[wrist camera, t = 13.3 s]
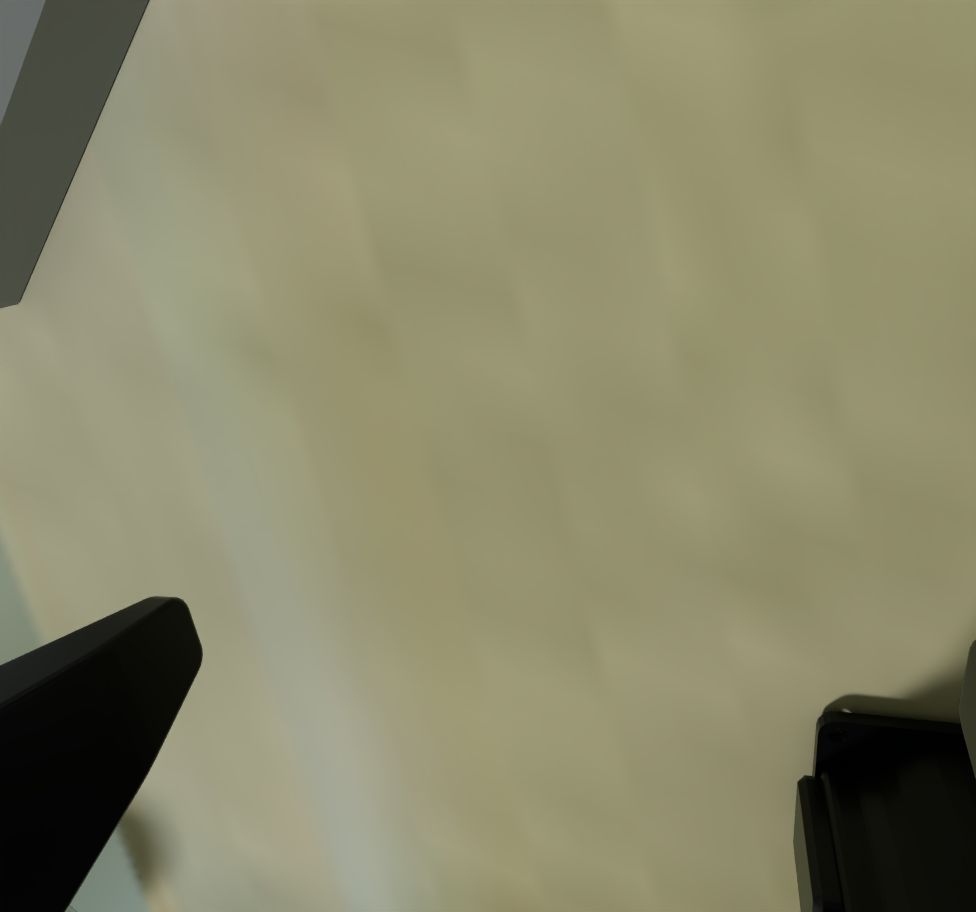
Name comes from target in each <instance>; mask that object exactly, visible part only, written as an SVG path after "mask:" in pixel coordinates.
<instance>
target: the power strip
mask: <svg viewBox="0 0 976 912" xmlns="http://www.w3.org/2000/svg"><path fill="white" fill-rule="evenodd" d="M147 3H148V0H0V308H3V307H8V306H12V305H16V304H18V303H19V301H20V299H21V296H22V294H23V292H24V289H25V287H26V285H27V282H28V280H29V278H30V275H31V273H32V271H33V268H34V266H35V264H36V261H37V259H38V257H39V254H40V252H41V250H42V247H43V245H44V243H45V240H46V238H47V236H48V233H49V231H50V229H51V226H52V224H53V222H54V219H55V217H56V215H57V212H58V210H59V208H60V205H61V203H62V201H63V198H64V196H65V194H66V191H67V189H68V187H69V184H70V182H71V180H72V177H73V175H74V173H75V170H76V168H77V166H78V163H79V161H80V159H81V156H82V154H83V152H84V149H85V147H86V145H87V142H88V140H89V138H90V135H91V133H92V131H93V128H94V126H95V124H96V122H97V119H98V117H99V115H100V112H101V110H102V108H103V105H104V103H105V101H106V98H107V96H108V94H109V91H110V89H111V87H112V84H113V82H114V80H115V77H116V75H117V73H118V70H119V68H120V66H121V63H122V61H123V59H124V56H125V54H126V52H127V49H128V47H129V45H130V42H131V40H132V38H133V35H134V33H135V31H136V28H137V26H138V24H139V21H140V19H141V17H142V14H143V12H144V10H145V7H146V5H147Z"/></svg>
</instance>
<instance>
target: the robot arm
mask: <svg viewBox="0 0 976 912" xmlns="http://www.w3.org/2000/svg"><path fill="white" fill-rule="evenodd" d="M202 656H203V652H202V646H201V643H200V640H199V637H198V634H197V631H196V628H195V625H194V622H193V619H192V616H191V614H190V611H189V608H188V606H187V604H186V603H185V602H184V601H183V600H182V599H180V598H177V597H160V596H154V597H149V598H146V599H144V600H142V601H140V602H138V603H135V604H133V605H131V606H129V607H127V608H125V609H122V610H120V611H118V612H116V613H114V614H111V615H109V616H107V617H105V618H103V619H101V620H98V621H96V622H94V623H92V624H90V625H87V626H85V627H83V628H81V629H79V630H77V631H74V632H72V633H70V634H68V635H66V636H63V637H61V638H59V639H57V640H55V641H53V642H50V643H48V644H46V645H44V646H42V647H39V648H37V649H35V650H33V651H31V652H29V653H26V654H24V655H22V656H20V657H18V658H15V659H14V660H11V661H9V662H7V663H5V664H2V665H0V912H65V911H66V910H67V908H68V906H69V905H70V903H71V901H72V900H73V898H74V896H75V895H76V893H77V892H78V890H79V888H80V887H81V885H82V883H83V882H84V880H85V878H86V877H87V875H88V873H89V872H90V870H91V868H92V867H93V865H94V863H95V862H96V860H97V858H98V857H99V855H100V853H101V852H102V850H103V848H104V847H105V845H106V843H107V842H108V840H109V838H110V837H111V835H112V834H113V832H114V830H115V829H116V827H117V825H118V824H119V822H120V820H121V819H122V817H123V815H124V814H125V812H126V810H127V809H128V807H129V805H130V804H131V802H132V800H133V799H134V797H135V795H136V794H137V792H138V790H139V789H140V787H141V785H142V783H143V782H144V780H145V778H146V776H147V775H148V773H149V771H150V769H151V767H152V765H153V763H154V761H155V759H156V757H157V755H158V753H159V751H160V749H161V747H162V745H163V743H164V741H165V739H166V737H167V735H168V733H169V731H170V729H171V726H172V724H173V722H174V720H175V718H176V716H177V714H178V712H179V710H180V708H181V706H182V704H183V702H184V700H185V698H186V696H187V694H188V691H189V689H190V687H191V685H192V683H193V681H194V679H195V677H196V675H197V673H198V671H199V669H200V666H201V662H202ZM959 711H960V720H961V724H957V723H947V722H937V721H927V720H917V719H907V718H897V717H887V716H877V715H867V714H857V713H847V712H828V713H825V714H823V715H821V716H820V717H819V718H818V720H817V723H816V734H815V747H814V760H813V773H812V776H806V775H804V776H803V777H802V778H801V779H800V780H799V781H798V782H797V795H796V809H795V824H794V839H793V844H794V854H795V863H796V872H797V881H798V890H799V899H800V908H801V912H976V640H975V641H973V643H972V645H971V647H970V650H969V654H968V660H967V665H966V670H965V676H964V681H963V686H962V691H961V697H960V706H959ZM838 728H839V729H842V730H844V731H842V732H841V733H833V732H830V730H832V729H838Z"/></svg>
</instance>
